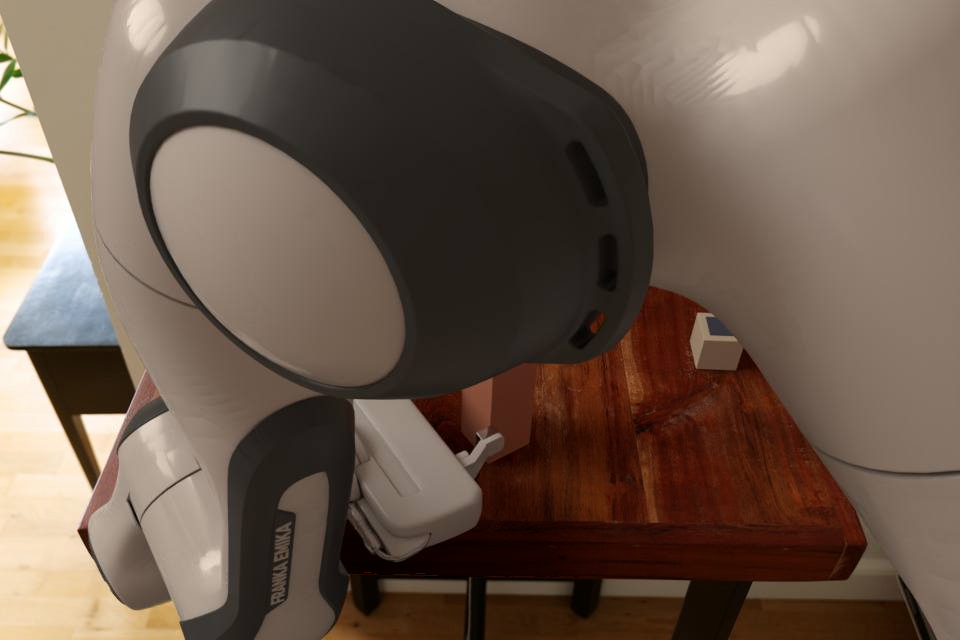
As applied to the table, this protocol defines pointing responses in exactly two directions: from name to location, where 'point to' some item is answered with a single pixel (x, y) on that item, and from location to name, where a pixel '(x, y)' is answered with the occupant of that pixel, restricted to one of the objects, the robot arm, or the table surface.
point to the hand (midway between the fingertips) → (467, 399)
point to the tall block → (501, 408)
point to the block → (714, 344)
